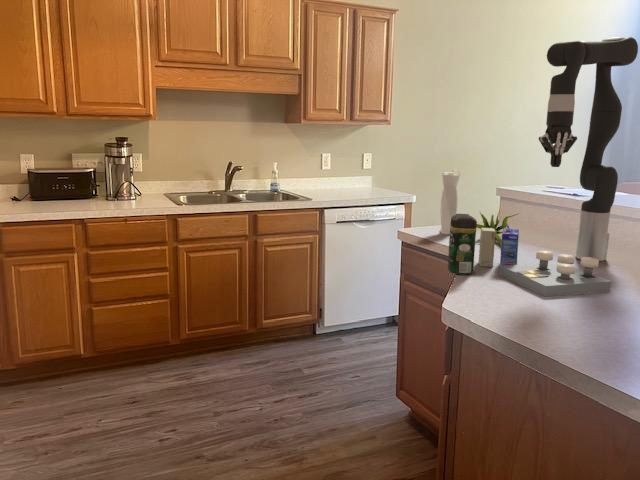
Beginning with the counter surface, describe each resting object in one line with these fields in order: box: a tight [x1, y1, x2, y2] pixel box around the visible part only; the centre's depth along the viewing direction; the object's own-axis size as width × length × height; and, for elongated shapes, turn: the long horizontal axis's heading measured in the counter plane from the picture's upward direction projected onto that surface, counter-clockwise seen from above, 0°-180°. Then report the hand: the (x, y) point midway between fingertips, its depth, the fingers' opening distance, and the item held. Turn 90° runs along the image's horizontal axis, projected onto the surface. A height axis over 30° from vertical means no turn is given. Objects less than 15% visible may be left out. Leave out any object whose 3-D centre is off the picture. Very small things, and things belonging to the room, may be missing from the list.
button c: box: [535, 250, 554, 269], centre depth 172 cm, size 5×5×5 cm
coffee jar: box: [447, 213, 478, 276], centre depth 177 cm, size 10×8×19 cm
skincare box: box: [478, 228, 496, 268], centre depth 187 cm, size 6×4×12 cm
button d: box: [557, 264, 576, 280], centre depth 163 cm, size 5×5×5 cm
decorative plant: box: [475, 209, 519, 247], centre depth 219 cm, size 18×30×15 cm, turn 145°
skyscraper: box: [439, 168, 461, 236], centre depth 237 cm, size 8×8×28 cm
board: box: [499, 262, 612, 297], centre depth 168 cm, size 22×22×3 cm
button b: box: [579, 257, 600, 276], centre depth 165 cm, size 5×5×5 cm
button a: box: [556, 253, 576, 265], centre depth 174 cm, size 5×5×5 cm
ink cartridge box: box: [499, 223, 520, 270], centre depth 185 cm, size 10×6×14 cm, turn 161°
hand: (555, 166), depth 174 cm, fingers closed
